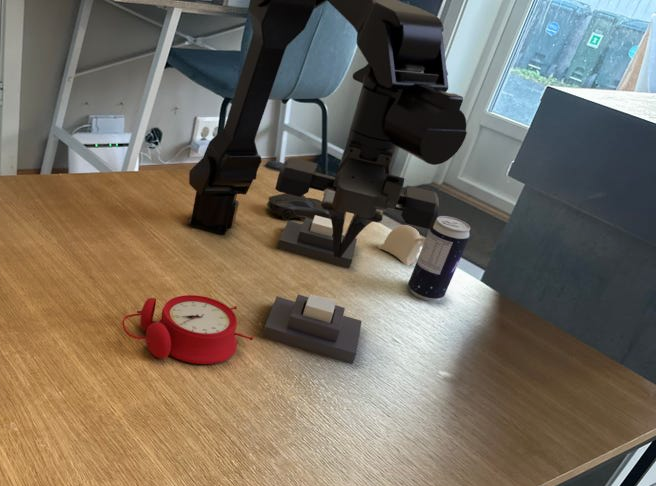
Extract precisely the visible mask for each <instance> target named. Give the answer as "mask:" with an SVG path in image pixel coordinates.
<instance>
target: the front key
mask: <svg viewBox="0 0 656 486" xmlns="http://www.w3.org/2000/svg"><path fill="white" fill-rule="evenodd" d="M307 297H308V300H307V303H306V306H305V309H304V313H303V316H307V317H310V318H314V319H317V320H320V321H324V322H327V323H330V321H331V318H332V315H333V312H334V308H335V305H337V304H336V303H337V300H335V299H331V298H327V297H324V296H320V295H317V294H314V293H309V294H308V296H307Z"/></svg>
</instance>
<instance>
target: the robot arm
mask: <svg viewBox="0 0 656 486" xmlns="http://www.w3.org/2000/svg"><path fill="white" fill-rule="evenodd" d="M326 2H328V3H329V4H330V5H331V6H332V7H333V8H334V9H335V10H336V11H337V12H338V13H339V14H340V15H341V16H342V17H343V18H344V19H345V20H346V21H347V22H348V23H349V24H350V25H351V26H352V27H353V28H354V30H355V32H356V46H357V48H358V49H359V51H360V52H361V54H362V57H364V59H365V61H366V63H367V64H366V65H365V66H363V67H361V68H360V69H357V70H356V71H354V73H353V74H352V79H353V80H354V81H356V82H358V83H361V84H362V87H361V90H360V93H359V97H358V99H357V104H356V107H355V111H354V114H353V118H352V121H351V124H350V128H349V131H348V134H347V138H346V141H345V145H344V149H343V152H342V155H341V159H340V162H339V165H338V167H337V170H336V174H335V176H332V175H329V174H324V173H320V172H317V169H318V165H319V164H318V163H316V162H313V161H308V160H304V159H299V158H295V157H289V158H288V159H286V160H285V161H284V162H283V164H282V166H281V168H280V170H279V173H278V176H277V180H276V184H275V188H274V189H275V190H276V191H277V192H279V193H281V194H285V193H286V194H290V195H294V196H298V197H301V196H302V195H304V196H305V195H306V194H308V193H309V191H310V189H311V190H316V191H320V192H323V193H322V195H323V197H322V200H321V201H322V203H321V208H322V209H325V210H328V211H329V214H330V217H331V222H332V228H333V250H334V257H335V258H339V259H340V258H341V257H342V255H343V254H344V253H345V251H346V250H347V248H348V247H349V246H350V244H351V243H352V242H353V240H354V239H357V237H358V235H359V234H360V233H361V232H362V231H363V230H364V229H365V228H367V226H369V225H370V224H371V223H378V224H379V223H381V222H382V221H383V217H384V211H387V209H388V210H392V211H394V210H397V211H401V213H400V216H401V218H402V219H403V221H404V223H405V225H409V226H415V227H419V228H423V229H427V230H429V229H432V228H433V226H434V224H435V221H436V219H437V218H438V217H439V212H440V201H439V197H438V194H437V192H436V191H432V190H428V189H424V188H419V187H416V186H411V185H406V187H405V189H404V192H403V193H402V191H403V187H404V183H405V178H404V177H401V176H397V175H393V174H390V172H391V168H392V166H393V162H394V160H395V156H396V154H397V150H398V148H399V149H401V150H402V151H404V152H406V153H408V154H410V155H412V156H414V157H415V158H417V159H418V160H421V161H423V162H425V164H429V165H433V166H436V165H442V164H444V163H445V162H447V161H449V160H450V159H451V158H453V157H454V156H455V154H457V153H458V152H459V150H460V149H461V147H462V146H463V144H464V141H465V140H466V137H467V133H468V132H467V119H466V116H465V114H464V112H463V111H462V110H461V107H462V105H463V102H464V97H463V96H461V95H459V94H457V93H454V92H453V93H451V92H447V91H448V90H449V80H448V76H449V73H448V70H447V61H446V52H445V43H444V37H443V32H444V30H445V28H444V24H443V21H441V19H440V18H439V17H438V16H437V15H435V14H433V13H431V12H429V11H427V10H424V9H423V8H420V7H418V6H415V5H411V4H408V3H406V2H402V1H400V0H249V2H248V9H247V12H248V16H249V21H250V25H251V30H252V35H251V36H252V37H251V39H250V42H249V46H248V49H247V53H246V56H245V59H244V62H243V66H242V69H241V72H240V75H239V79H238V82H237V85H236V88H235V91H234V95H233V98H232V101H231V105H230V108H229V111H228V115H227V118H226V121H225V124H224V127H223V129H222V130H221V131H219V132H218V133H217V134H216V135H215V136H214V137H213V138H212V139H211V140H210V141H209V142H208V144H207V146H206V149H205V152H204V154H203V157H202V158H201V159H200V160H199V161H198V162H197V163H196V164H195V165H194V166H193V167H192V168H191V169H190V170H189V174H188V175H189V177H188V184H189V185H190V186H191V187H192V188H193V190H194V191H195V196H194V202H193V203H194V204H193V207H192V212H191V217H190V219H189V220H188V222H187V226H188V227H192V228H196V229H199V230H203V231H207V232H209V233H213V234H218V235H221V236H226V234H227V232H228V231H229V230H231V229H232V228H233V226H234V224H235V221H236V217H237V214H238V213H237V212H238V207H239V204H240V202H239V200H237V197H238V195H247V194H248V192H249V189H250V187H251V185H252V183H253V182H254V180H257V175H258V171H259V168H260V166H261V164H262V157H261V155H260V154H259V152H258V148H257V144H256V138H257V134H258V132H259V128H260V126H261V123H262V120H263V118H264V114H265V111H266V108H267V106H268V103H269V99H270V97H271V94H272V90H273V88H274V84H275V82H276V79H277V76H278V73H279V71H280V67H281V65H282V62H283V59H284V57H285V56H284V55H285V52H286V50H287V48H288V46H289V45H290V44H291V43H292V42H293V41H294V40H295V39H296V38H297V37H298V36H300V34H301V33H302V32H303V31H304V30H305V29H306V28H307V25H308V24H309V21H310V19H311V17H312V14H313V12H314V10H315V9H317V8H319V7H320V6H322V5H323V4H324V3H326ZM347 213H348V214H352V215H353V216H352V217H351V220H350V222H349V225H348V227H347V229H346V230H345V234H344V228H345V223H346V216H347ZM343 234H344V238H343V240H342V235H343ZM341 241H342V242H341Z"/></svg>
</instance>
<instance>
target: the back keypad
mask: <svg viewBox="0 0 656 486" xmlns="http://www.w3.org/2000/svg"><path fill="white" fill-rule="evenodd" d="M312 222H313V219H309V218H305V220H304V221H303V223H300V222H295V221H292V220H287V223H286V224H285V227H284V229H283V231H282V233H281V235H280V237H279V239H278V244H277V247H276V249H277V250H280V251H283V252H287V253H290V254H294V255H298V256H302V257H306V258H308V259H312V260H316V261H320V262H323V263H326V264H329V265H334V266H337V267H341V268H345V269H348V270H350V268H351V265H352V262H353V260H354V255H355V251H356V247H357V241H358V238H355V239H354V240H353V242H352V243H351V244H350V246H349V247H348V248H347V250H346V251H345V253H344V254H343V255H342V257H341V258H340V259H339V258H335V257H334V250H333V234H332V237H330V236H326V235H322V234H319V233H315V232H311V231H310V229H311V225H312ZM344 236H345V234H344V235H342V240H343V238H344ZM341 242H342V241H341Z"/></svg>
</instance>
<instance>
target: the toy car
mask: <svg viewBox="0 0 656 486" xmlns="http://www.w3.org/2000/svg"><path fill="white" fill-rule="evenodd" d="M321 203H322V200H321V199H318V198H313V197H306V196H305V194H304V195H302V196H301V197H298V196H294V195H290V194H286V193H280V194H276V195H271V196H269V197H268V201H267V203H266V204H267V208H268V209H269V210H270V211H271V212H272V213H274V214H275V215H278V216H279V217H281V219H283V220H284V221H289V220H290V219H299V220H300V221H302V222H304V220H305V218H309V219H314V217H315V215H317V216H320V217H324V218H328V219H331V217H330V214H329V211H328V210H325V209H322V208H321Z"/></svg>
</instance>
